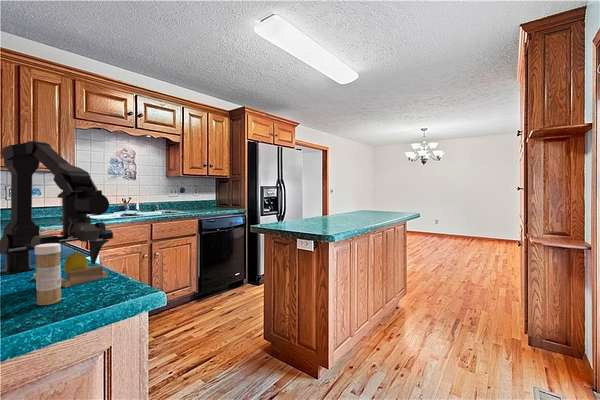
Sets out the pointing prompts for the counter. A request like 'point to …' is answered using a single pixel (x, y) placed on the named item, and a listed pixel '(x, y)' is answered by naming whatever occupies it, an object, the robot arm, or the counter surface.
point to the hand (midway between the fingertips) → (76, 267)
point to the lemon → (75, 262)
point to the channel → (82, 276)
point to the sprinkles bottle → (48, 273)
